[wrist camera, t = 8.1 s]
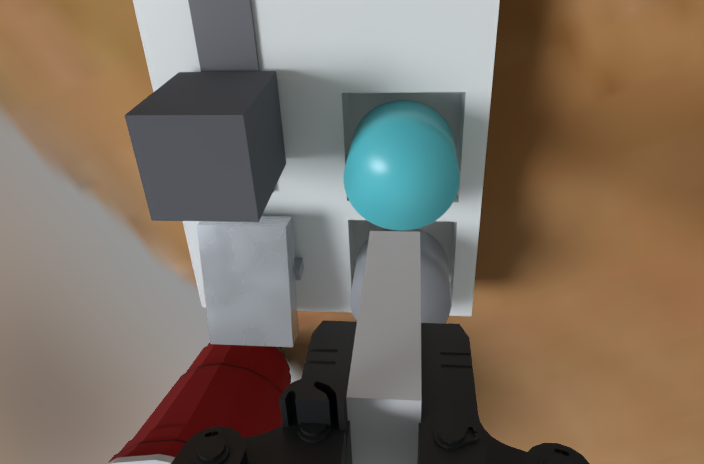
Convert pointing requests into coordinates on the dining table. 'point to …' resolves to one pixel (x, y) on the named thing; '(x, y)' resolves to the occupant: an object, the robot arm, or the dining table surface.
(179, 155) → the slider knob
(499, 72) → the dining table surface
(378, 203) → the teal button
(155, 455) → the plastic cup
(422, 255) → the grey button
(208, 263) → the white block with nub
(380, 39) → the panel
